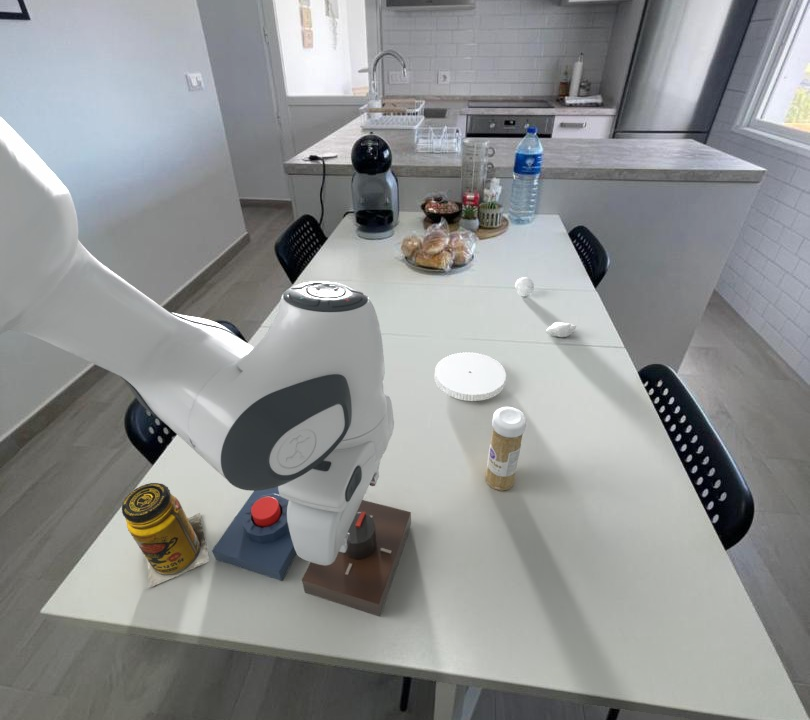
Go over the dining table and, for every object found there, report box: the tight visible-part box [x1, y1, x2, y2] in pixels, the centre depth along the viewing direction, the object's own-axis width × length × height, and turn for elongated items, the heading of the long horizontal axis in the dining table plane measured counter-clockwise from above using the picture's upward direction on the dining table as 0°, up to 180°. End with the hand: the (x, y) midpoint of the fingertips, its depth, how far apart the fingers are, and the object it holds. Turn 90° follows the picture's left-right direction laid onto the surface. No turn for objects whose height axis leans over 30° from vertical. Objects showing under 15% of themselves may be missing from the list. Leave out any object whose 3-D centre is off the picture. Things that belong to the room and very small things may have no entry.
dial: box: [345, 512, 377, 559], centre depth 57 cm, size 4×4×4 cm
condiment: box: [121, 482, 210, 588], centre depth 57 cm, size 7×8×12 cm
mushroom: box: [514, 276, 535, 298], centre depth 118 cm, size 5×5×5 cm
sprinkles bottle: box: [484, 406, 527, 491], centre depth 66 cm, size 5×5×14 cm
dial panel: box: [301, 499, 412, 617], centre depth 59 cm, size 13×10×3 cm
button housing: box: [211, 487, 297, 582], centre depth 62 cm, size 12×10×4 cm
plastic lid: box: [434, 351, 507, 402], centre depth 89 cm, size 14×14×2 cm
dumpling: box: [545, 321, 578, 338], centre depth 102 cm, size 7×5×4 cm
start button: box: [251, 497, 281, 527], centre depth 60 cm, size 4×4×2 cm
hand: (357, 511), depth 54 cm, fingers open, 8 cm apart
